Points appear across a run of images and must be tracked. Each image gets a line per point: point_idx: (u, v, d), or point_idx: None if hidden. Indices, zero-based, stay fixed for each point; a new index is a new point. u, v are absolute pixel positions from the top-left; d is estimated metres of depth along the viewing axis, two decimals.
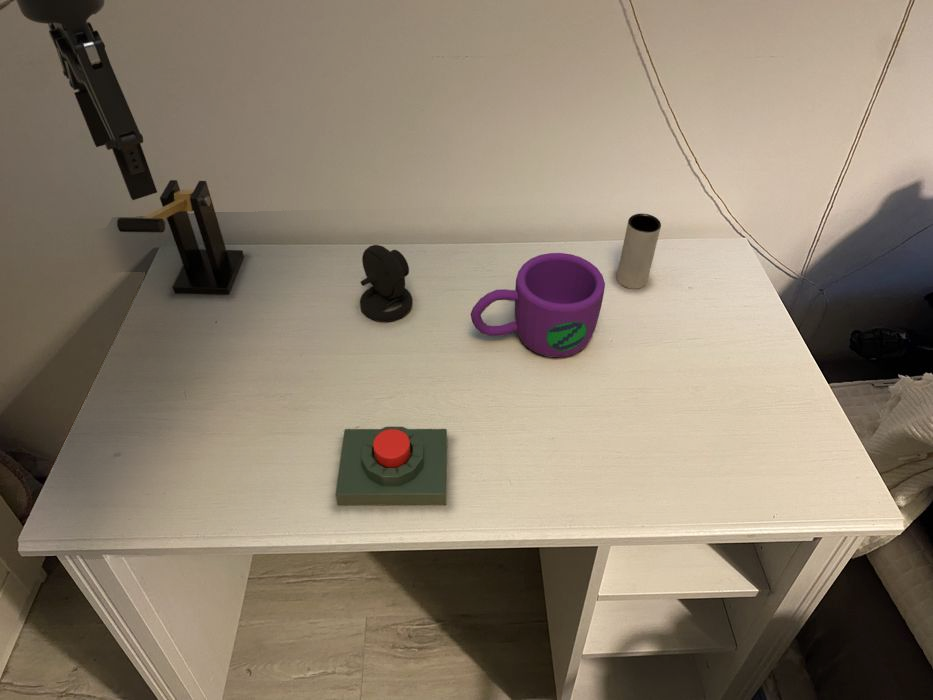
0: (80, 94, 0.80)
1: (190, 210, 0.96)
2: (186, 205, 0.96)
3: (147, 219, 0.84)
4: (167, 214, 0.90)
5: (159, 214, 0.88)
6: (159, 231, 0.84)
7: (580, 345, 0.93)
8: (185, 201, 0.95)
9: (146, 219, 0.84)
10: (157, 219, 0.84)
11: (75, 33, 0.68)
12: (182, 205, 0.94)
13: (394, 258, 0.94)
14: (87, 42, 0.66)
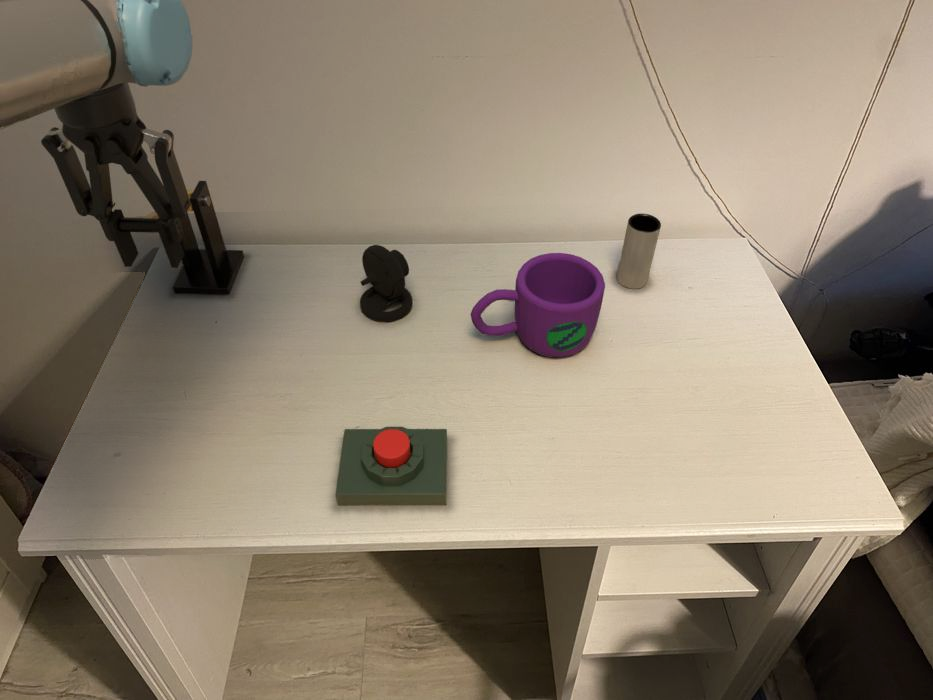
0: (114, 220, 0.83)
1: (190, 210, 0.96)
2: None
3: (147, 219, 0.84)
4: None
5: None
6: None
7: (580, 345, 0.93)
8: None
9: (146, 219, 0.84)
10: (157, 219, 0.84)
11: (135, 124, 0.74)
12: None
13: (394, 258, 0.94)
14: (166, 136, 0.76)
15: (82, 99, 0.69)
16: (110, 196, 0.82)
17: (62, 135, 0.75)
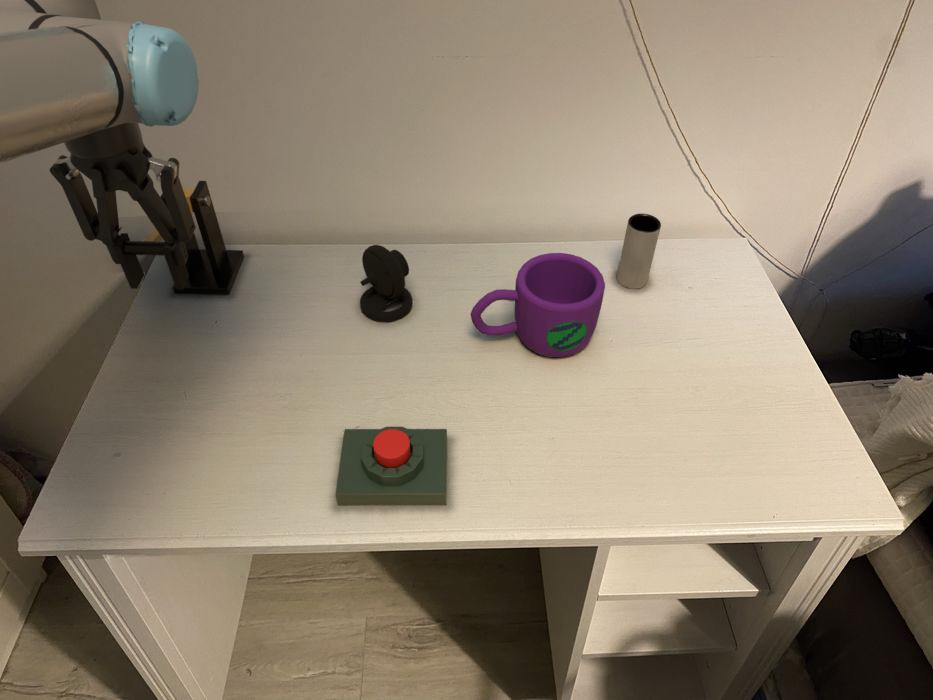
0: (120, 244, 0.84)
1: (191, 212, 0.96)
2: None
3: (152, 243, 0.85)
4: None
5: None
6: None
7: (580, 345, 0.93)
8: None
9: (151, 243, 0.85)
10: (161, 243, 0.85)
11: (141, 153, 0.76)
12: None
13: (394, 258, 0.94)
14: (172, 164, 0.77)
15: None
16: (117, 221, 0.84)
17: (70, 163, 0.77)
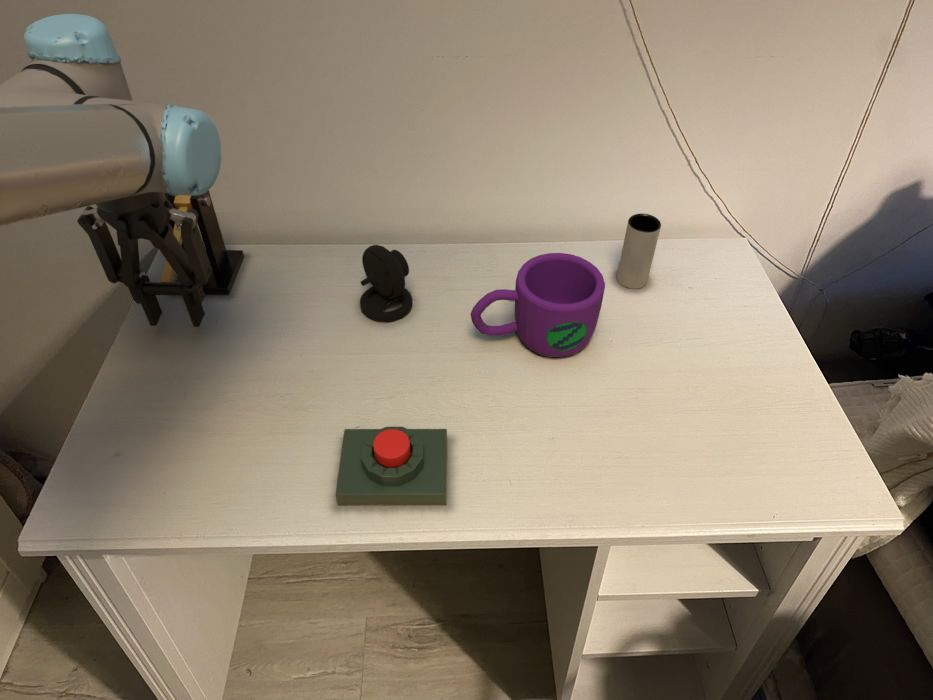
0: (141, 286, 0.90)
1: None
2: None
3: (169, 287, 0.90)
4: None
5: None
6: None
7: (580, 345, 0.93)
8: (187, 209, 0.96)
9: (168, 287, 0.90)
10: (178, 287, 0.90)
11: (163, 205, 0.82)
12: None
13: (394, 258, 0.94)
14: (191, 215, 0.83)
15: None
16: (138, 264, 0.90)
17: (96, 214, 0.83)
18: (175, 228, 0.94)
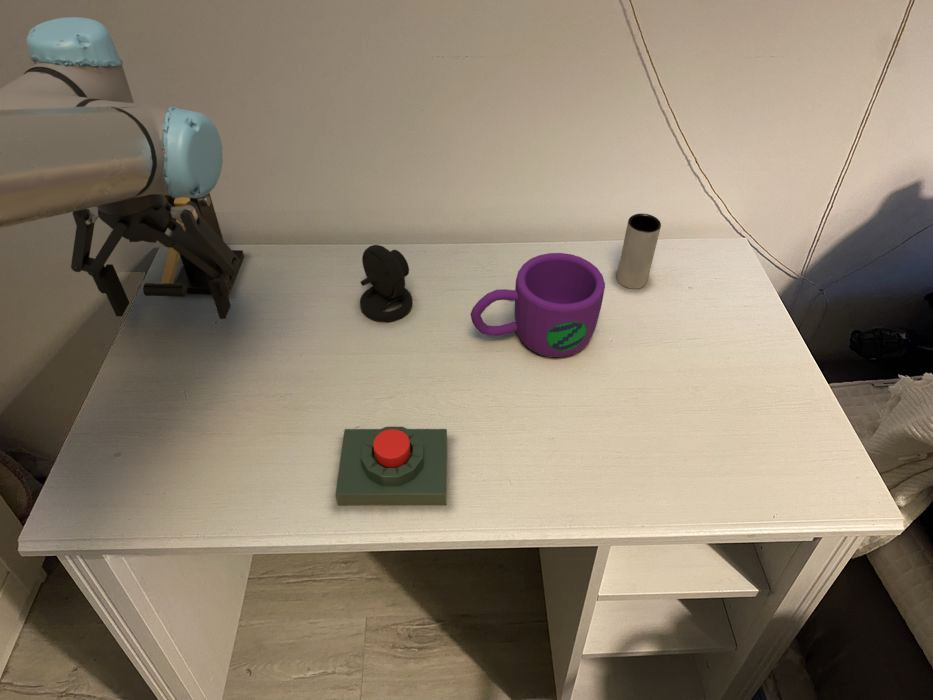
0: (105, 275, 0.89)
1: None
2: None
3: (170, 288, 0.90)
4: None
5: (174, 261, 0.92)
6: (183, 296, 0.91)
7: (580, 345, 0.93)
8: None
9: (169, 288, 0.90)
10: (179, 288, 0.90)
11: (164, 208, 0.82)
12: None
13: (394, 258, 0.94)
14: (188, 207, 0.82)
15: None
16: None
17: (95, 212, 0.82)
18: None
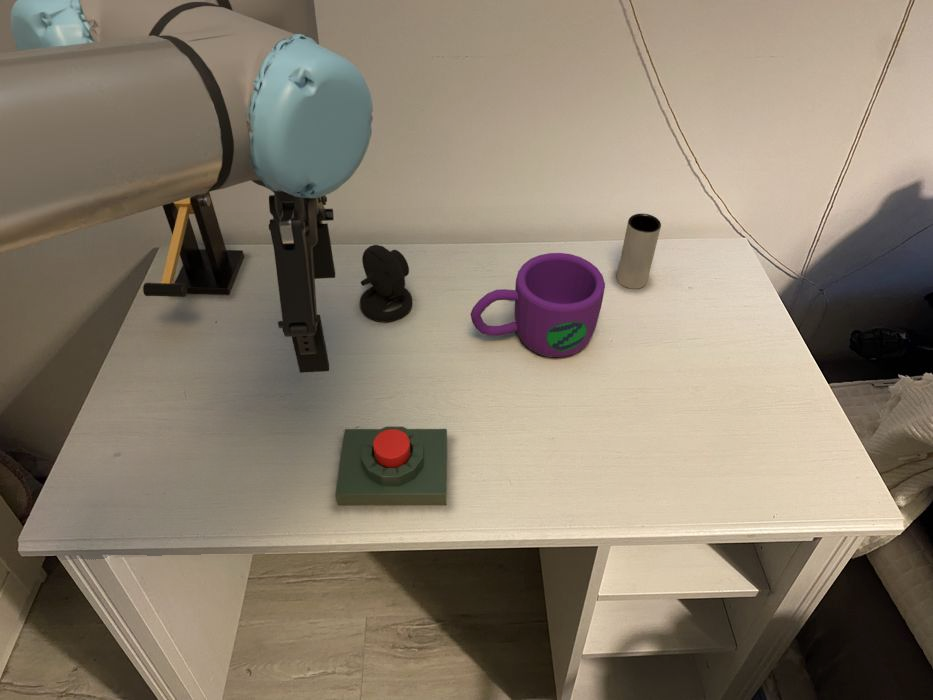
0: None
1: None
2: (189, 211, 0.97)
3: (170, 288, 0.90)
4: (179, 249, 0.94)
5: (174, 261, 0.92)
6: (183, 296, 0.91)
7: (580, 345, 0.93)
8: (187, 210, 0.96)
9: (169, 288, 0.90)
10: (179, 288, 0.90)
11: (283, 201, 0.57)
12: (186, 218, 0.96)
13: (394, 258, 0.94)
14: (285, 221, 0.55)
15: None
16: (320, 216, 0.70)
17: None
18: (175, 228, 0.94)
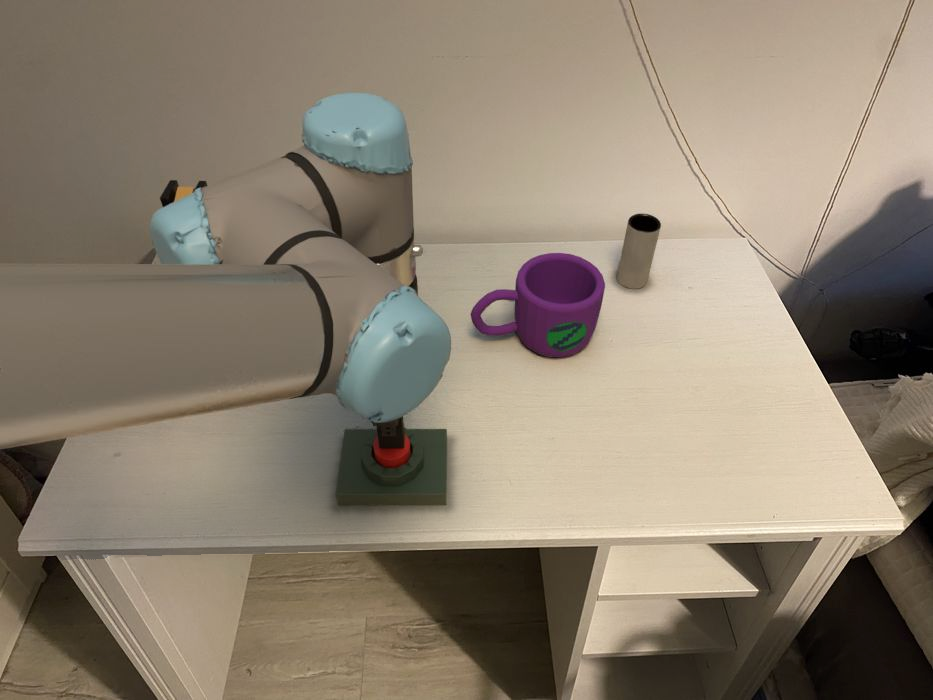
0: None
1: None
2: None
3: None
4: None
5: None
6: None
7: (580, 345, 0.93)
8: None
9: None
10: None
11: None
12: None
13: None
14: None
15: None
16: None
17: None
18: None
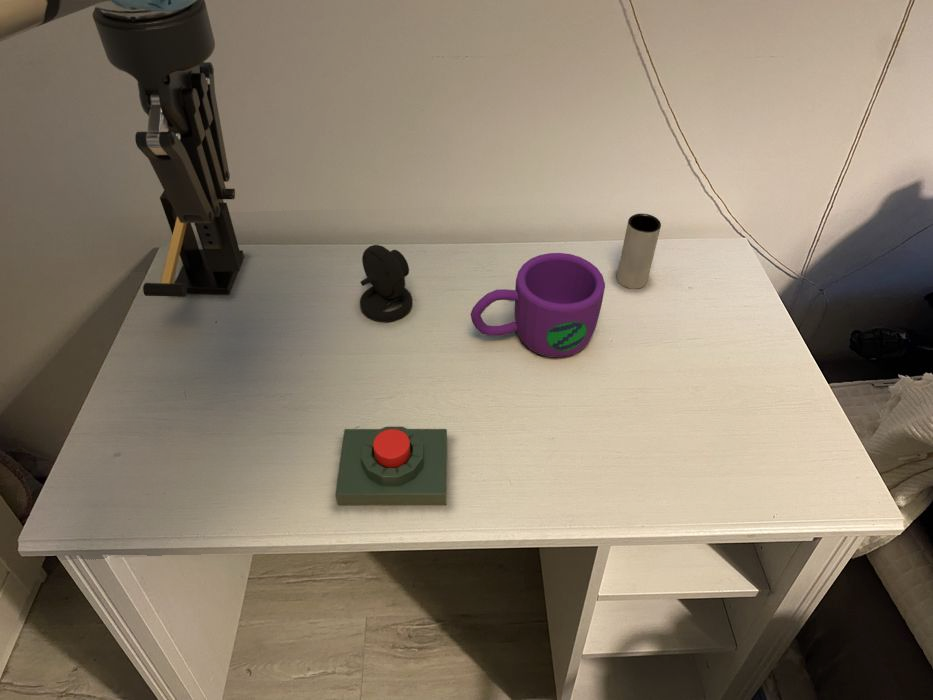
0: None
1: None
2: None
3: (170, 288, 0.90)
4: (179, 249, 0.94)
5: (174, 261, 0.92)
6: (183, 296, 0.91)
7: (580, 345, 0.93)
8: None
9: (169, 288, 0.90)
10: (179, 288, 0.90)
11: (147, 90, 0.50)
12: None
13: (394, 258, 0.94)
14: (152, 139, 0.50)
15: (95, 13, 0.49)
16: (214, 180, 0.60)
17: None
18: (175, 228, 0.94)
